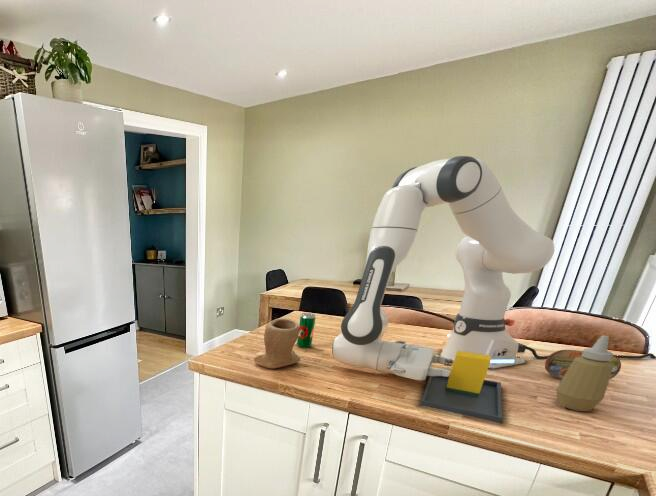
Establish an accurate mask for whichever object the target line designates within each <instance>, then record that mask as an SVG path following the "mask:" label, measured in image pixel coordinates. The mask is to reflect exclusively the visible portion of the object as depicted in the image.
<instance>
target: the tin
mask: <svg viewBox="0 0 656 496" xmlns="http://www.w3.org/2000/svg"><path fill="white" fill-rule="evenodd" d="M583 351H584V350H577V349H559V350H557V351H554V352H552V353H550V354H549V355H548V356H549V357H548V358H547V359H545V361H544V369H545V371H546V372H547V373H548V374H549V375H550V376H552V377H553V378H555V379H558V380H562V379H563V377H564V375H565V374H566V372H567V370H568V369H569V367H570V365H571V364H572V362H573V360H574V359H575V358H577V357H581V355H582V353H583ZM614 355H615V354H613V355H612V357H611V359H610V360H609V361H610V362H611V363H612V364H613V365H614V366H613V369H612V373H611V376H610V379H609V381H610V380H612V379H613V378H615V377H616V376H617V375H618V374H619V373H620V371H621V369H622V362H621V360H620V358H617V357H616V356H614Z"/></svg>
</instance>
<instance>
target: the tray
mask: <svg viewBox="0 0 656 496" xmlns="http://www.w3.org/2000/svg"><path fill="white" fill-rule="evenodd" d="M449 376H450V375H449ZM448 379H449V377H445V376H428V380H427V383H426V385H425V388H424V391H423V393H422V397H421V399H420V403H419V406H422V407H426V408H430V409H435V410H439V411H445V412H449V413H452V414H453V413H454V414H457V415H458V414H459V415H463V416H467V417H472V418H476V419H481V420H486V421H489V422H493V423H494V422H495V423H499V424H501V423H502V421H503V400H502V399H503V398H502V382H500V381H496V380H488V379H484V382H483V385H482V388H481V390H480V393H479V396H473V395H468V394H463V393H458V392H453V391H448V390H446V386H447V383H448Z"/></svg>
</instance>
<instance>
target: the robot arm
mask: <svg viewBox="0 0 656 496" xmlns="http://www.w3.org/2000/svg"><path fill="white" fill-rule="evenodd" d="M444 204H448V205H449V208H450V210H451V213H452V214H453V216H454V219H455V220H456V222H457V224H458V226H459V228H460V230H461V231H462V233H463V234H464V235H466V236H464V237H463V238H461V240H460V241H459V243H458V244H457V246H456V249H455V258H456V261H457V262H458V264H459V265H460V266H461V269H462V271H463V277H464V291H463V296H462V301H461V304H460V307H459V311H458V313H456V315H455V319H454V322H453V328H452V330H451V332H450V334H447V341H446V343H445V345H444V346H443V347H442V350H441V352H440V355H439V354H436V349H434V348H432V347H428V346H423V345H419V344H412V343H407V342H406V341H404V340H397V341H386V340H385V341H384V340H382V338H383V336H384V334H385V332H386V330H387V329H388V326H389V318H388V316H387V313H386V312H385V311H384V310H382V309H381V307H382V303H383V300H384V296H385V293H386V290H387V286H388V283H389V281H390V278H391V275H392V273H394V271H395V269H396V268H397V267H398V266H399V265H400V264H401V263H402V262H403V261H404V260H405V259H406V258H407V257H408V255H409V253H410V252H411V249H412V247H413V246H414V242H415V240H416V237H417V233H418V230H419V226H420V224H421V223H420V222H421V218H422V213H424V212H423V211H424V210H425V209H426V208H431V207H435V206H439V205H444ZM554 253H555V243H554V241H553V240H552V238H550V237H549V236H546V235H544V234H542V233H540V232H538V231H537V230H535V229H534V228H532V227H531V226H530V225H529V224H528V223H526V221H524V220H523V219H522V218H521V217H520V216H519V215H518V213H516V212H515V210H514V209H513V208H512V206H511V204H510V203H509V200H508V199H507V197H506V194H505V192H504V190H503V188H502V186H501V184H500V182H499V180H498V178H497V176H496V175H495V173H494V172H493V170H492V168H491V167H490V166H489V164H487V163H486V162H485V161H484V160H483V159H481V158H476V157H473V156H468V155H458V156H453V157H450V158H443V159H439V160H434V161H431V162H428V163H426V164H422V165H419V166H414V167H411V168H410V169H407V170H405V171H403V172H402V173H400V174H399V175H398V177H397V178H396V179H395V181H394V183H393V185H392V187H391V188H390V189H388V190H387V191H386V192H385V193H384V195H383V197H382V199H381V200H380V202H379V206H378V207H377V211H376V213H375V215H374V219H373V221H372V225H371V228H370V233H369V237H368V243H367V252H366V260H365V265H364V269H363V270H364V271H363V274H362V278H361V280H360V284H359V288H358V290H357V293H356V298H355V301H354V303H353V305H352V306H351V308H350V309H349V310H348V312H347V313H345V315H344V317H343V319H342V321H341V324H340V330H341V332H340V333H339V334H338V335H337V336H335V338H334V339H333V340H332V341H333V342H332V346H331V352H332V353H331V354H332V357H333V359H334V360H335V362H338V363H340V364H343V365H346V366H350V367H355V368H361V369H365V368H366V369H367V368H368V369H371V370H373V371H376V372H380V373H385V374H386V373H387V374H391V375H395V376H398V377H401V378H407V379H410V380H414V381H426V379H427V376H428V377H430V376H445V377H449V375H450V373H451V368H445V367H446V366H447V367H452V366H453V363H454V359H455V356H456V353H457V351H463V352H470V353H477V354H484V355H490V356H491V361H490V364H489V367H488V369H498V368H499V369H500V368H505V367H510V366H516V365H521V364H525V362H526V360H525V359H524V358H523V357H521V356H519V357H516V355H517V354H519V353H520V354H523V353H524V354H525V352H526V350H527V351H530V352H531V353H532V355H534V356H533V357H534V358H536V359H538V360H546V359H547V358H548V357H549V356H550V355H546V356H542V355H539V354H538V353H537V351H536V350H535V349H534V348H532V347H530V346H527V344H526V345H525V344H523V343H520V342H518V341H517V340H515V339H514V337H512V336H511V335H510V334H509V333H508V332H507V330H506V326H508V327H513V326H514V325H515V323H516V320H515V319H510V318H506V319H505V314H506V312H507V309H508V306H509V303H510V300H511V297H512V291H511V289H510V288H509V287H508V286H507V285H506V283H505V281H504V278H503V273H504V274H505V273H506V274H530V273H536V272H538V271H540V270H542V269H543V268H545V267H546V266H547V265H548V264H549V263H550V261H551V260H552V259H553V256H554ZM613 355H614V356H616V357H617V358H618V359H629V360H630V359H631V360H632V359H633V360H634V359H636V360H639V359H644V358H648V357H650V358H651V359H656V355H655V354H653V353H652V352H651V353H645V354H642V355H624V354H622V355H621V354H613ZM617 355H618V356H617ZM517 356H518V355H517ZM520 357H521V358H520ZM517 358H519V359H517ZM432 364H440V365H443V366H445V367H442V368H439V367H435V366H432Z"/></svg>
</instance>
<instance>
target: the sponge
mask: <svg viewBox="0 0 656 496" xmlns="http://www.w3.org/2000/svg"><path fill="white" fill-rule="evenodd" d="M490 361H491V356H490V355H484V354H477V353H470V352H463V351H457V353H456V356H455V359H454V361H453V364H452V366H451V368H450V370H451V372H450V376H449V379H448V383H447V386H446V390H448V391H453V392H458V393H463V394H468V395H473V396H479V393H480V390H481V388H482V385H483V382H484V380H486V379H485V378H486V376H487V372H488V370H489V368H488V367H489V364H490Z"/></svg>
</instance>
